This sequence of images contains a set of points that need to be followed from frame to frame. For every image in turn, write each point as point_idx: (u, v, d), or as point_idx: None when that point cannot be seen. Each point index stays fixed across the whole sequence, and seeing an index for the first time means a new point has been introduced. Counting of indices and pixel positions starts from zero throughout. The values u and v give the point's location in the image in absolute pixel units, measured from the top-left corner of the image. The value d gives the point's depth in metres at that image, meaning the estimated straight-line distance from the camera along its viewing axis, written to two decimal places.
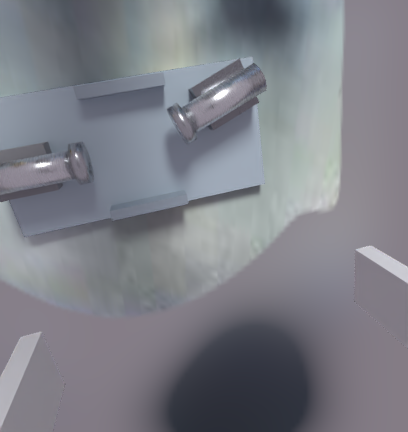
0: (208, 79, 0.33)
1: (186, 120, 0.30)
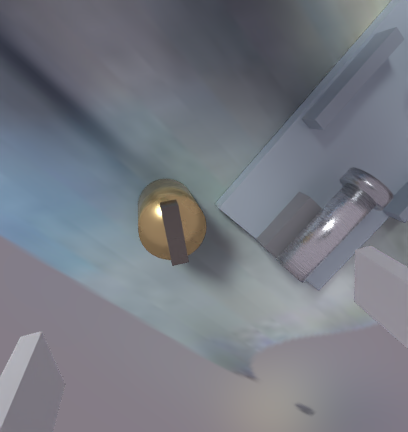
0: None
1: None
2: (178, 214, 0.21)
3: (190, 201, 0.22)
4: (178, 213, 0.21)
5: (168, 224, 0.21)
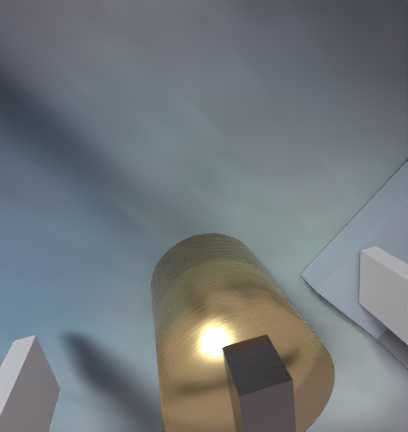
0: None
1: None
2: (289, 403, 0.07)
3: (303, 334, 0.08)
4: (289, 400, 0.07)
5: (257, 431, 0.07)
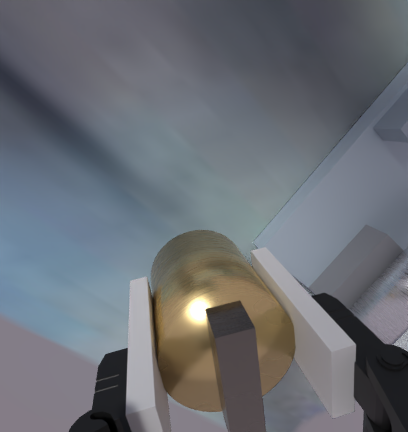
0: None
1: None
2: (253, 347, 0.09)
3: (269, 302, 0.10)
4: (253, 345, 0.09)
5: (229, 369, 0.09)
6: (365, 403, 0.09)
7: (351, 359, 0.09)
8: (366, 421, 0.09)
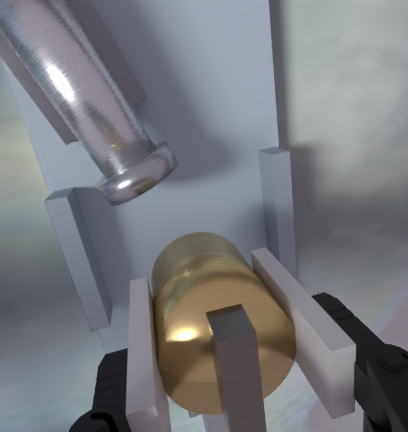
0: (42, 108, 0.15)
1: (127, 178, 0.14)
2: (254, 350, 0.09)
3: (270, 305, 0.10)
4: (254, 348, 0.09)
5: (230, 372, 0.09)
6: (365, 403, 0.09)
7: (351, 359, 0.09)
8: (366, 421, 0.09)
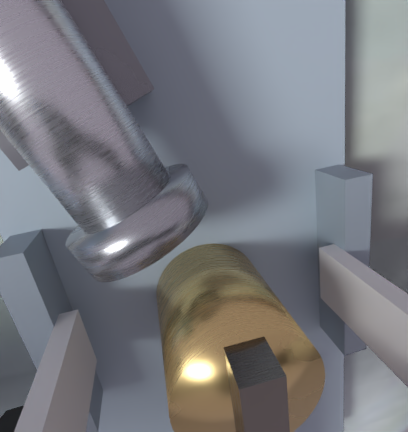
0: None
1: (118, 240, 0.07)
2: (283, 397, 0.08)
3: (297, 337, 0.09)
4: (283, 394, 0.08)
5: (255, 422, 0.08)
6: None
7: None
8: None
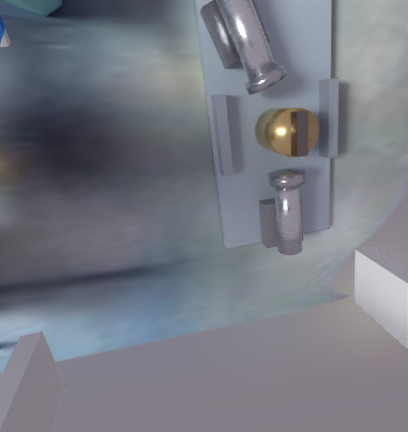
0: (221, 45, 0.32)
1: (268, 75, 0.30)
2: (307, 117, 0.30)
3: (310, 113, 0.32)
4: (307, 117, 0.30)
5: (299, 124, 0.30)
6: None
7: None
8: None
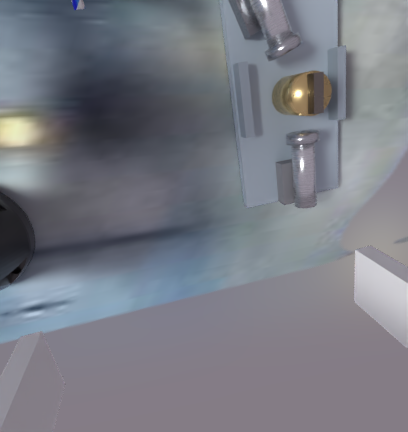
0: (244, 17, 0.36)
1: (287, 41, 0.34)
2: (322, 78, 0.35)
3: (324, 75, 0.36)
4: (322, 77, 0.35)
5: (316, 84, 0.35)
6: None
7: None
8: None
